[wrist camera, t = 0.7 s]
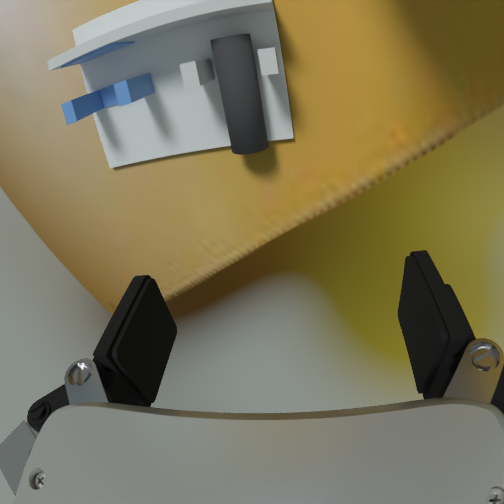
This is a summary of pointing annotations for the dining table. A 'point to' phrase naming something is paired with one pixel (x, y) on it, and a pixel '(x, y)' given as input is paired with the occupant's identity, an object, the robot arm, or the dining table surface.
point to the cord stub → (240, 93)
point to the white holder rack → (170, 75)
